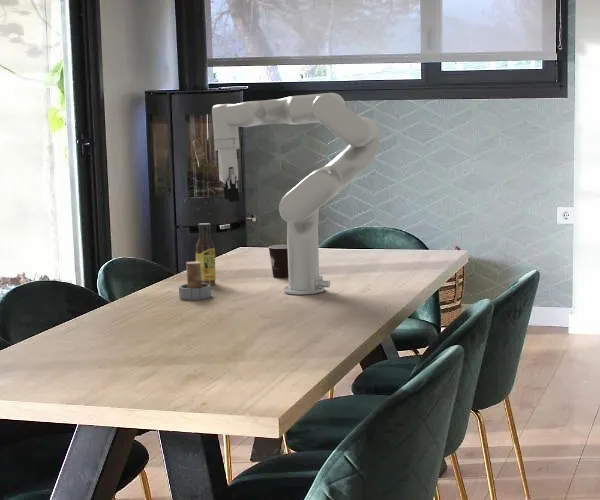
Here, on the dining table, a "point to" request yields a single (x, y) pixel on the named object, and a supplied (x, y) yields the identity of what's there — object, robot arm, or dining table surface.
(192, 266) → the brown cylinder
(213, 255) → the sauce bottle
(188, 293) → the grey faceted dish
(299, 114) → the robot arm
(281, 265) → the coffee mug
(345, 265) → the dining table surface
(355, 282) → the dining table surface
